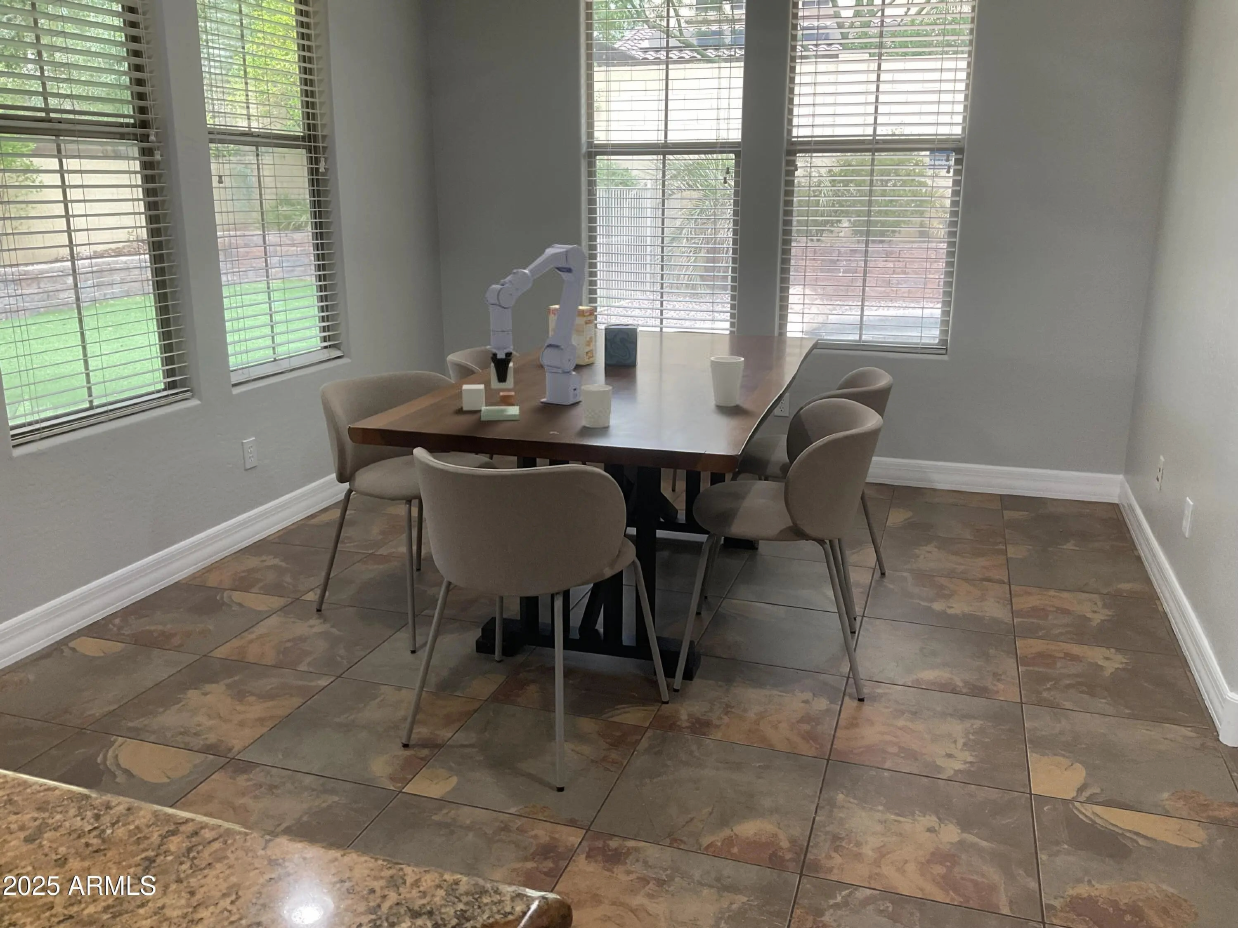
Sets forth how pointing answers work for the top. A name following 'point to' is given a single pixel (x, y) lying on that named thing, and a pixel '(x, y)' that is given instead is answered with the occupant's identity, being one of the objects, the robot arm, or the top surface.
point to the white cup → (596, 405)
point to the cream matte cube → (508, 382)
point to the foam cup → (726, 379)
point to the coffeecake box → (579, 333)
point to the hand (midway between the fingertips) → (502, 380)
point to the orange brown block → (507, 399)
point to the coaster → (500, 413)
